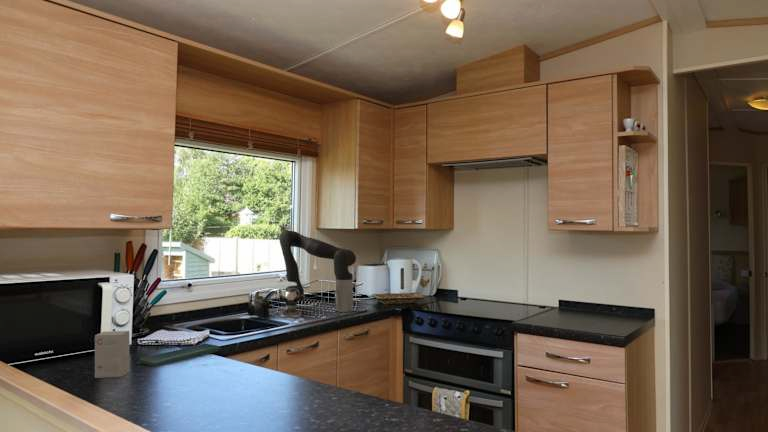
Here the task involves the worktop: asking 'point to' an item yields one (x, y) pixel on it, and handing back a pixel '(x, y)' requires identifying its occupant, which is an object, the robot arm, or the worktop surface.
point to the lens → (291, 301)
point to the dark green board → (180, 355)
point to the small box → (112, 354)
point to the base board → (291, 316)
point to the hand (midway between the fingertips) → (290, 299)
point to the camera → (259, 308)
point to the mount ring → (291, 313)
